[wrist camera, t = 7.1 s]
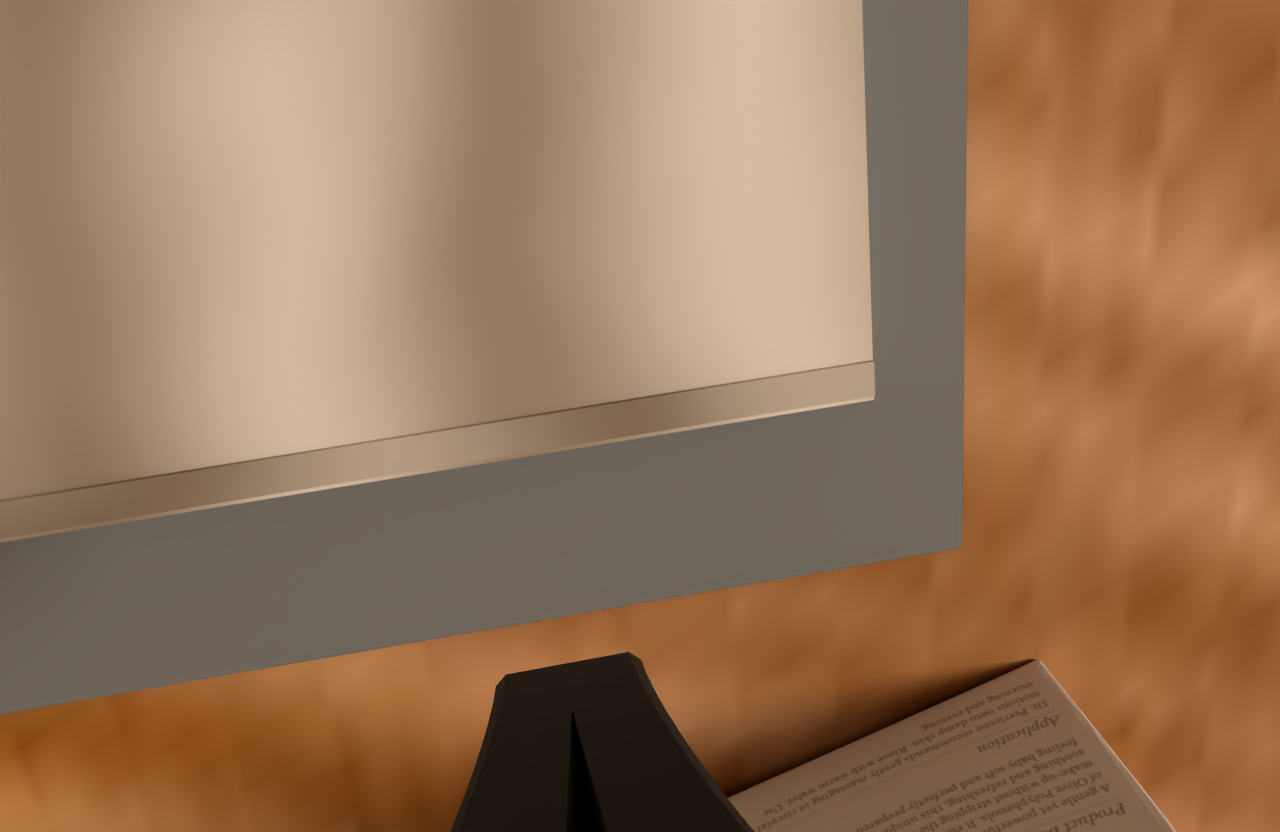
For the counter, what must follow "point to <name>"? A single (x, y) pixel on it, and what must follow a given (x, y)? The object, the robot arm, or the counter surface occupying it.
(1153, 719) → the counter surface
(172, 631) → the underlay mat
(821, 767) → the skincare box
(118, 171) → the loose plank
